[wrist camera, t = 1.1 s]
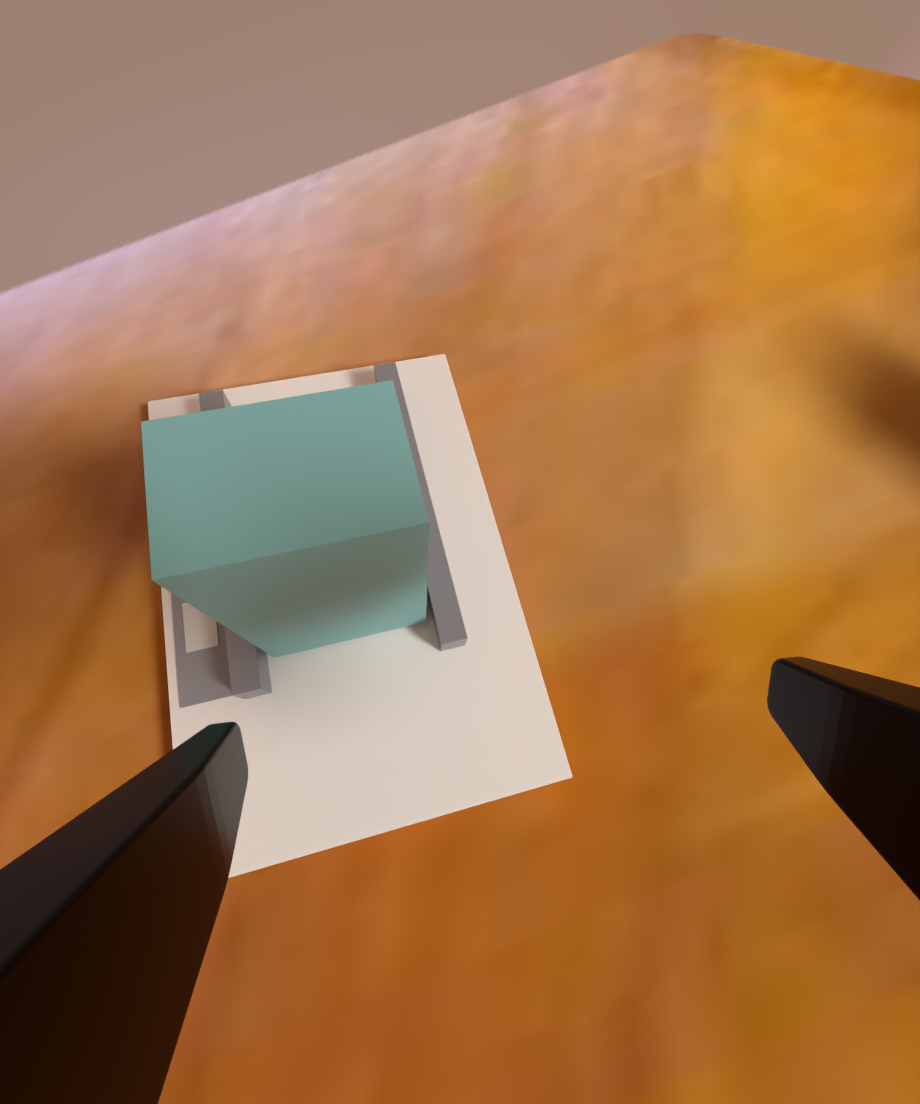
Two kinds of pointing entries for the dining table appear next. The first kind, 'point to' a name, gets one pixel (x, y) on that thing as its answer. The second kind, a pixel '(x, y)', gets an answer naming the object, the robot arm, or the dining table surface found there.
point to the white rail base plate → (377, 665)
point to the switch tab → (290, 517)
